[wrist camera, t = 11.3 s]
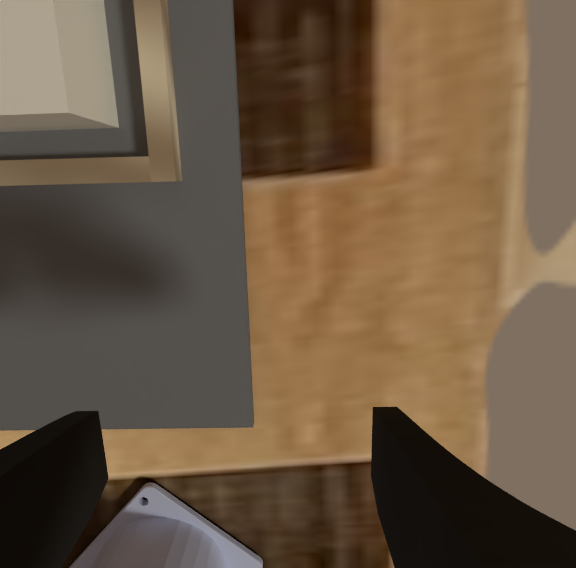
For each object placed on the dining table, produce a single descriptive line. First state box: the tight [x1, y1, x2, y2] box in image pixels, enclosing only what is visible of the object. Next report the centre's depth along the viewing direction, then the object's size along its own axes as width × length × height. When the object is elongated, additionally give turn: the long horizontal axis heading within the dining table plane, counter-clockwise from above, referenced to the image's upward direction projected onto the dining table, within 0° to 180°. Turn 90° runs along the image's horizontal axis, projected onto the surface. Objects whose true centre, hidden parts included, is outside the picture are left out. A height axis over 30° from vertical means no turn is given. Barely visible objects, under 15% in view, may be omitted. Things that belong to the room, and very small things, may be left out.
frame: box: [0, 0, 182, 186], centre depth 16 cm, size 14×10×1 cm
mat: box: [0, 0, 254, 430], centre depth 18 cm, size 26×15×1 cm, turn 1°
